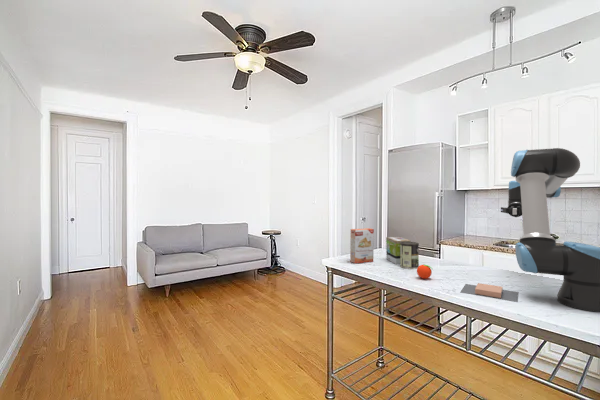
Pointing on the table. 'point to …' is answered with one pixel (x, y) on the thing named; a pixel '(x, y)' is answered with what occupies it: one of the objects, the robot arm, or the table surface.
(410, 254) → the coffee can
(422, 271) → the clementine
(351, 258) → the cracker box
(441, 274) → the table surface
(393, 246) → the tea box
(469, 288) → the mat
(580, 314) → the table surface
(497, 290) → the tile
